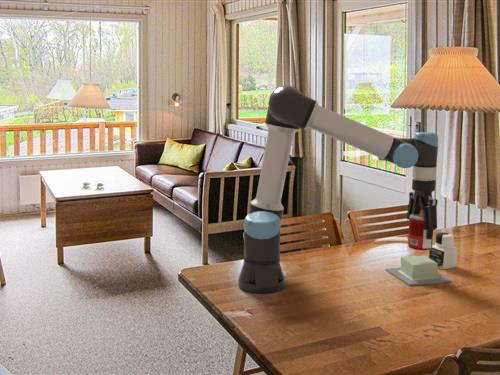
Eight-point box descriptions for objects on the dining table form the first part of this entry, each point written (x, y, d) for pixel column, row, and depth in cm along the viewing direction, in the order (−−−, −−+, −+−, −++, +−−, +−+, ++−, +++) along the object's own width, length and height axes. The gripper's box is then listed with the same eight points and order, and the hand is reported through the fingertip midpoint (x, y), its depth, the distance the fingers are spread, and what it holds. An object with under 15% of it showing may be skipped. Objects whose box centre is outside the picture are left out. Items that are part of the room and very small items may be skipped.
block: (412, 279, 196) (413, 265, 196) (400, 270, 205) (401, 256, 204) (436, 277, 198) (437, 263, 197) (424, 269, 207) (424, 255, 206)
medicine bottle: (428, 264, 215) (430, 232, 213) (442, 261, 218) (444, 230, 216) (442, 269, 209) (445, 237, 206) (457, 267, 212) (459, 235, 210)
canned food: (433, 251, 196) (436, 219, 194) (409, 250, 197) (411, 218, 195) (430, 244, 203) (432, 213, 201) (406, 243, 204) (408, 213, 202)
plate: (409, 285, 192) (409, 283, 192) (385, 270, 207) (385, 268, 207) (451, 281, 196) (451, 279, 196) (425, 267, 211) (425, 265, 211)
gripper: (452, 183, 187) (447, 252, 191) (417, 173, 206) (413, 235, 210) (431, 184, 185) (426, 254, 189) (398, 174, 204) (395, 237, 209)
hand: (419, 244), depth 200 cm, fingers closed on canned food, 8 cm apart
